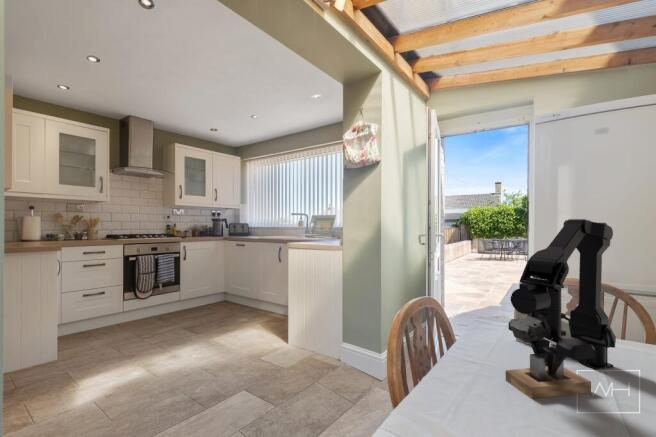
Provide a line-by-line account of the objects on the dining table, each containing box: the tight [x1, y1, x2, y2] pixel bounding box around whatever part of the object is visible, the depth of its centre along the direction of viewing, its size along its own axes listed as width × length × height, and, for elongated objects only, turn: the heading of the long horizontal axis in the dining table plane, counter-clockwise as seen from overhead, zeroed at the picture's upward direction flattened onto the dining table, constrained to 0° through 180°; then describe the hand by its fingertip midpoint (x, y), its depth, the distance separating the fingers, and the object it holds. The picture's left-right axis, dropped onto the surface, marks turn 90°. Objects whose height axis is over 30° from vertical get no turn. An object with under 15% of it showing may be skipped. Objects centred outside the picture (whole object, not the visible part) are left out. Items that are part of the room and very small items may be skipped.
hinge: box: [561, 314, 573, 339], centre depth 108 cm, size 17×5×10 cm, turn 25°
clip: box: [529, 353, 565, 382], centre depth 74 cm, size 7×2×6 cm, turn 100°
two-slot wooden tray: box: [505, 366, 592, 400], centre depth 74 cm, size 16×8×2 cm, turn 100°
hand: (546, 371), depth 74 cm, fingers closed on clip, 2 cm apart
